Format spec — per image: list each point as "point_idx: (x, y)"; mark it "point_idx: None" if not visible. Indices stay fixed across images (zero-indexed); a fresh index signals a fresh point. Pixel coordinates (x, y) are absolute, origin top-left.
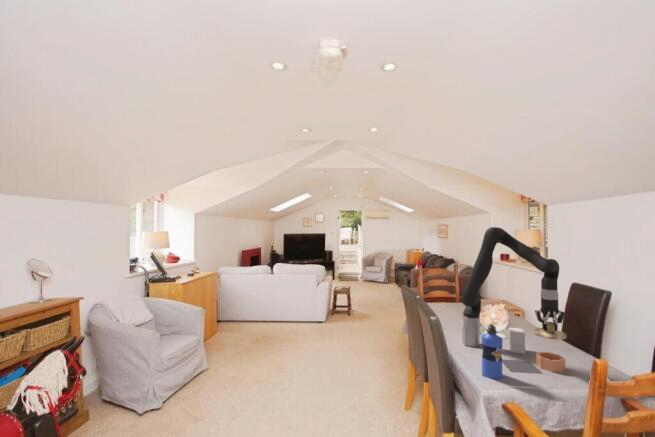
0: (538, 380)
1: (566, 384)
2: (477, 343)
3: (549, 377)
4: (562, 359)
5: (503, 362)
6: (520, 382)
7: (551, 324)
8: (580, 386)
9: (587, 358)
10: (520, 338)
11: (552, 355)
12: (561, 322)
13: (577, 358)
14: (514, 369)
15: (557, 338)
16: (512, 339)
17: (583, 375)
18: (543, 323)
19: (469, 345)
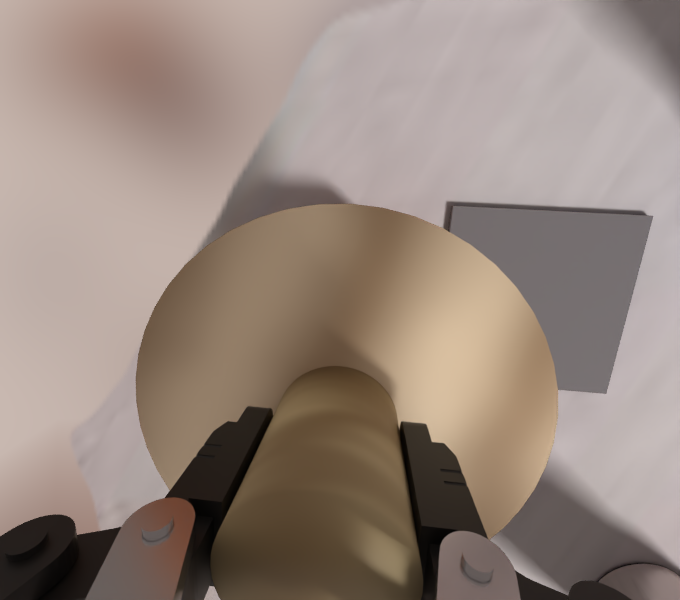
0: (532, 119)
1: (388, 79)
2: (637, 585)
3: (435, 171)
4: None
5: (610, 351)
6: (676, 74)
7: (331, 479)
8: (319, 60)
9: (91, 425)
10: None
11: None
12: (15, 532)
13: None
14: (604, 253)
15: (349, 204)
16: None
17: (221, 216)
18: (495, 561)
19: (676, 575)
